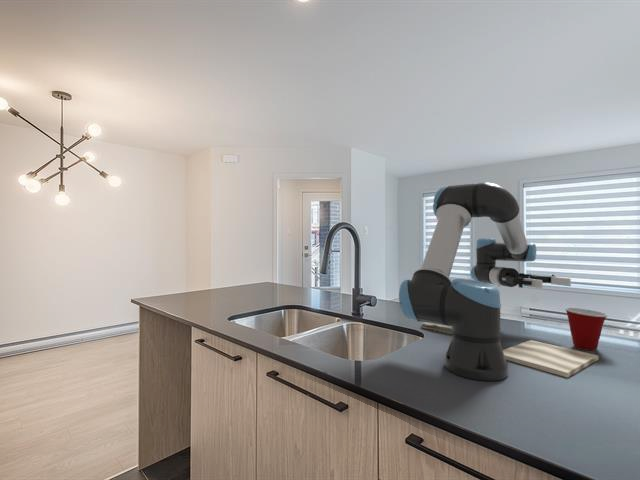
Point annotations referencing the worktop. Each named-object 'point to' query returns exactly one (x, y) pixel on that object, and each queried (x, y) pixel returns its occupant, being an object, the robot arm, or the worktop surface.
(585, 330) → the plastic cup
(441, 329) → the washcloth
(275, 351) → the worktop surface
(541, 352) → the cutting board
